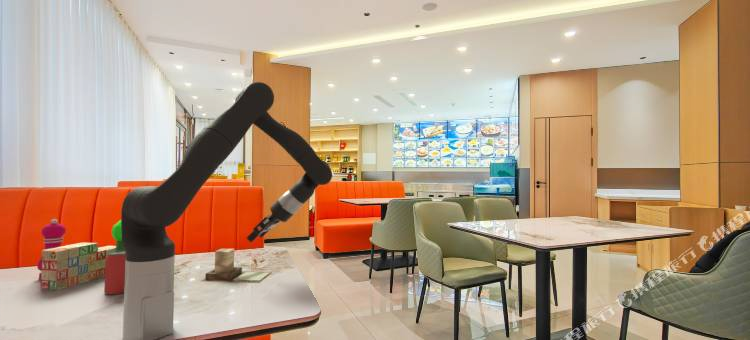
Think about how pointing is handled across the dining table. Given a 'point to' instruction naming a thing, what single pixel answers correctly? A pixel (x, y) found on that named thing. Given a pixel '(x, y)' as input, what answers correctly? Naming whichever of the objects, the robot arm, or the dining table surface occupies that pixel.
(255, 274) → the puzzle board
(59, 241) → the pepper mill
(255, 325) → the dining table surface
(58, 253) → the stack of blocks
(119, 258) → the beer can
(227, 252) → the maple block
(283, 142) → the robot arm
